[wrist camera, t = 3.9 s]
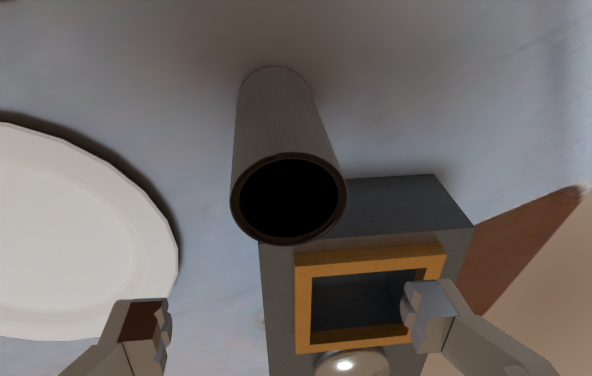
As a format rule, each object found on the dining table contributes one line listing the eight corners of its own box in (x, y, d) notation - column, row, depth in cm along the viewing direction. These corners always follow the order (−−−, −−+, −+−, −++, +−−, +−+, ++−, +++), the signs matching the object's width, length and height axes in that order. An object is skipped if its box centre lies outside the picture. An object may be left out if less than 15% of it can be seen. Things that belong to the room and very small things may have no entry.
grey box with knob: (256, 185, 25) (258, 257, 20) (433, 174, 26) (484, 239, 21) (268, 334, 36) (272, 409, 30) (395, 321, 37) (422, 392, 31)
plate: (-99, 313, 29) (-116, 332, 28) (-211, 63, 18) (-248, 74, 17) (167, 334, 35) (163, 351, 33) (201, 150, 24) (198, 163, 22)
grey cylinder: (322, 79, 21) (369, 171, 13) (295, 144, 24) (321, 256, 15) (249, 54, 20) (248, 137, 12) (228, 124, 22) (216, 236, 14)
